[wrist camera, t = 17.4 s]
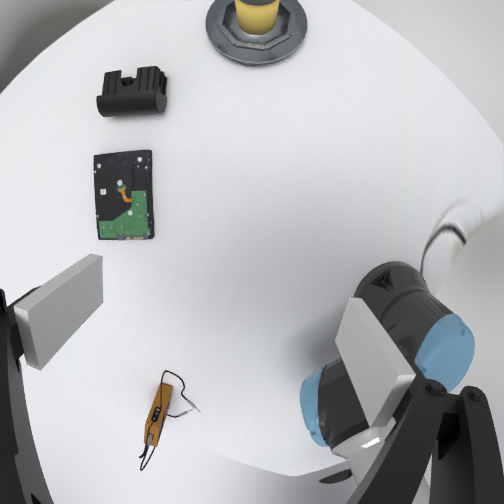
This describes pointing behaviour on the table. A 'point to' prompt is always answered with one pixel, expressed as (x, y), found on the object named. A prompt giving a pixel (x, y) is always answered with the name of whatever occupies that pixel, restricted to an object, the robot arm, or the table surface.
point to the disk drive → (124, 195)
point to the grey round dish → (256, 46)
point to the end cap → (133, 93)
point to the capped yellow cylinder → (256, 15)
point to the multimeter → (159, 416)
